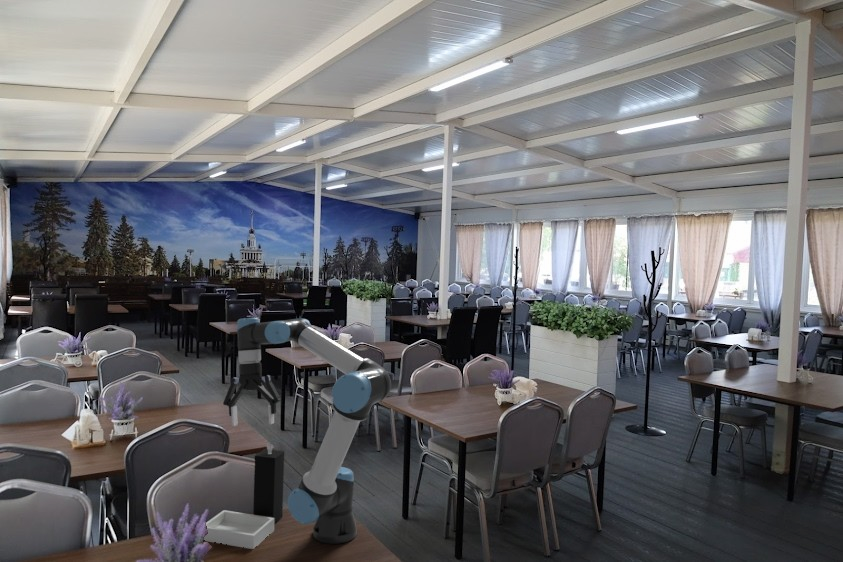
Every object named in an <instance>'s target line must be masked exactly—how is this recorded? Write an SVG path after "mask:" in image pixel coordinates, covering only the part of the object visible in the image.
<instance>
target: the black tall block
mask: <svg viewBox="0 0 843 562" xmlns="http://www.w3.org/2000/svg"><path fill="white" fill-rule="evenodd" d="M284 470H285V451H284V450H276V449H275V445H273V444H268V443H266V448H264V449H262V450H261V451H259V452H258V453H257V454H255V455H254V475H253V476H254V479H253V481H254V482H253V511H252V513H253V514H252V515H258V516H265V517H271V518H275V521H274V526H275V525H276V524H277V523H278V521H280V520H282V518H283V507H284V504H283V503H284V501H283V500H284V474H285V473H284Z"/></svg>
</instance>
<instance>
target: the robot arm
mask: <svg viewBox="0 0 843 562" xmlns="http://www.w3.org/2000/svg"><path fill="white" fill-rule="evenodd" d="M236 325H237V327H236V333H237V349H238V353H237V355H238V363H239V365H238V373H239V377H231V378H230V384H229V387H228V390H227V393H226V395H225V397H224V399H223V403H222V405H223V406H227V407H228V414H229V416H230V417H231V426H232V427H236V426H238V424H239V422H238V421H239V420H238V405H236V404H237V402H238V401H239V400H240V398H241V396H242V395H243V394H244V392H245V391H249V390H252V391H253V390H257V391H259V393H260V394H261V395H262V396H263V397H264V398H265V400H266V401H267V402H268V403H269V404H268V405H267V409H268V410H267V411H268V425H273V424H275V414H276V413H277V403H280V402H281V401H282V399H281V396H280V395H279V392H278V391H277V389H276V387H275V385H274V383H273V382H272V375H269V374H267V375H265V376H263V375H262V373H263V369H262V367H263V366H262V365H263V364H262V363H261V360H262V349H261V346H262V345H272V344H273V345H277V344H284V343H286V342H291V341H293V342H294V343H296V344H297V345H299V346H300V347H302V348H304V349H305V350H307V351H309V353H312V355H315V356H316V357H318V358H319V359H321V360H323V361H324V362H326V363H327V364H329V365H331V366H332V367H334V368H336V369H337V370H338V371H340V372H342V373H343V374H344V375H341V376H339V378H338V379H337V380H335V382H334V385H333V386H332V389H331V397H332V398H333V399H332V409H333V411H334V413H333V416H332V418H331V420H330V423H329V425H328V428H327V429H326V432H325V435H324V438H323V440H322V442H321V445H320V446H319V449H318V452H317V454H316V456H315V459H314V461H313V464H312V466H311V468H310V470H309V471H307V472H305V473H304V474H303V476H302V478H301V481H300V483H299V486H298V487H297V488H294V489H293V490H292V491H291V492H290V493H289V495H288V497H287V507H288V510H289V513H290V515H291V517H292V518H293V519H294V520H295V521H297V523H300V524H302V525H310V524H312V523H314V525H313V529H312V535H313V538H314V539H315V540H316V541H318V542H319V543H320V542H321V543H324V544H328V545H329V544H333V545H334V544H335V545H336V544H343V543H347V542H350V541H352V540H353V539H354V538H355V537H357V533H358V526H357V523H356V522H357V521H356V519H355V515H354V512H353V510H354V509H353V508H354V506H353V505H354V483H355V480H354V478H355V477H354V472H353V471H352V470H351V468H348V467H344V466H342V465H343V463H344V460H345V458H346V455H347V453H348V452H349V448H350V446H351V444H352V441H353V440H354V439H353V438H354V437H355V434H356V433H357V430H358V428H359V425H360V422H363V421H365V420H367V418H368V417H369V413H370V411H371V409H372V407H373V405H375V404H378V403H380V402H383V401H384V400H385V399H386V398H387V397H388V396H389V394H390V392H391V389H392V381H391V376H390V375H389V373H388V371H387V370H386V369H385V368H384V367H382V365H380V364H378V363H377V362H375V361H374V360H372V359H370V358H363V357H361V356H360V355H358V354H356V353H354V352H353V351H351V350H350V349H348V348H346V347H345V346H343V345H341V344H340V343H339V342H336V341H335V340H333V339H331V338H330V337H328V336H326V335H325V334H324V333H321V332H320V331H318V330H316V329H315V328H313V327H312V324H311V323H310V320H308V319H306V318H299V317H297V318H293V319H292V318H291V319H285V320H274V321H267V322H266V321H265V322H260V318H259V317H247V318H246V317H245V318H239V319H238V320H237V324H236ZM263 382H264V383H265V385H266V387H267V389H266V388H265V386H264V385H263ZM238 384H240V385H239V387H238V390H237V391H236V389H237V386H238ZM268 390H269V391H268ZM235 392H236V393H235Z"/></svg>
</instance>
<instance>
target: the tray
mask: <svg viewBox="0 0 843 562" xmlns="http://www.w3.org/2000/svg"><path fill="white" fill-rule="evenodd" d="M274 521H275V518H271V517H265V516H258V515H253V514H252V513H244V512H237V511H232V510H226V509H224V510H221V512H219V513H217V514H216V515H215V516H213V517H212V518H211V519H209V520H208V521H206V522H205V523H206V526H207V530H208V534H207V535H206V536H205V537H204V540H205V541H204V542H208V543H209V542H210V543H214V542H216V544H220V543H222V545H226V544H227V546H232V547H237V548H239V547H240V548H243V547H244V549H248V550H249V549H250V550H255V549H256V548H255V547H256V546H257V547H258V546H259V545H260V544H261V543H262V542H264V541H265V540H266V539H267V538H268V537H269V536H270V535H271V534H272V533H273V532H275V525H274ZM269 534H270V535H269ZM267 536H268V537H267ZM266 537H267V538H266ZM265 538H266V539H265Z"/></svg>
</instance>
